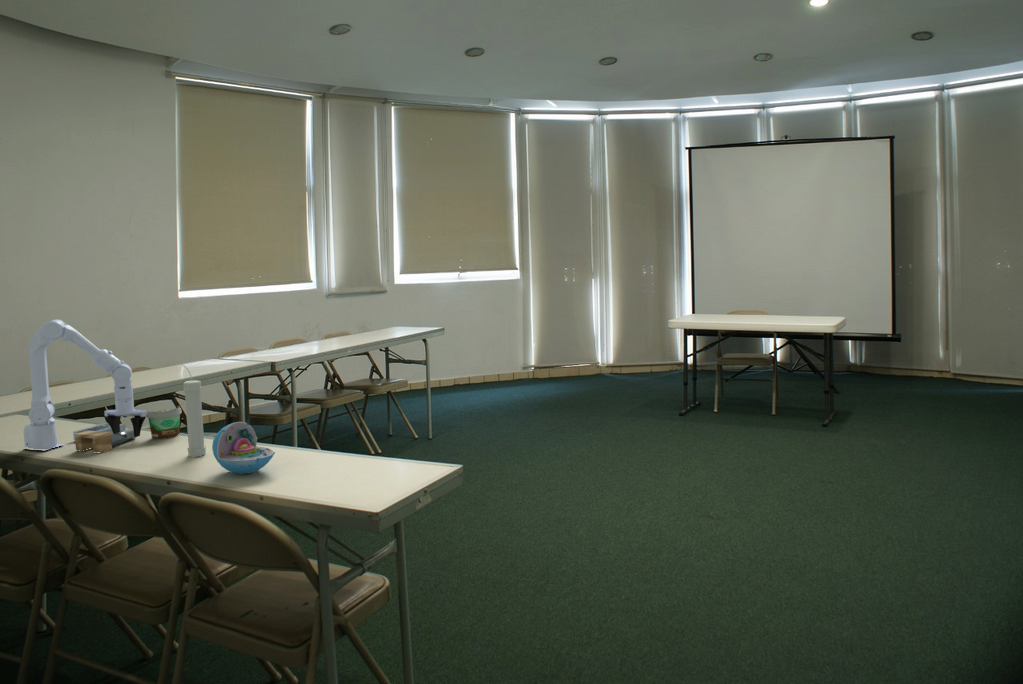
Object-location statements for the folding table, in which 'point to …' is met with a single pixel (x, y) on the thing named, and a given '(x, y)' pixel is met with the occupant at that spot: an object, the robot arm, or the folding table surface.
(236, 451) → the educational model
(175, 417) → the food container
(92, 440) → the beam
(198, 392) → the pipe
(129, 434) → the axle
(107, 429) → the cradle
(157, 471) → the folding table surface
